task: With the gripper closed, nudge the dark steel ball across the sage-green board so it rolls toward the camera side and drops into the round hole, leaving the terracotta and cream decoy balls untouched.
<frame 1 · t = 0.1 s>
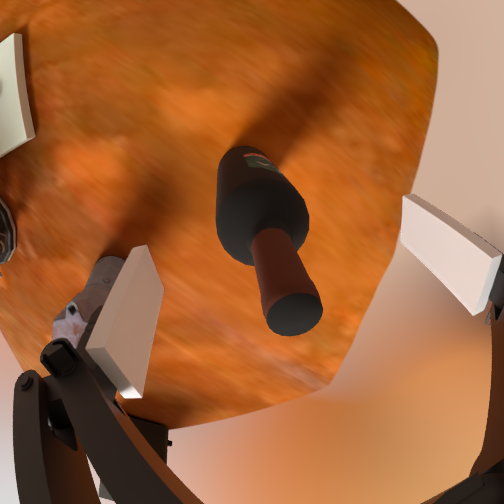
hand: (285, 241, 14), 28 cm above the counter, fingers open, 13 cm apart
wine bottle: (244, 171, 40), on the counter
black rectangular block: (135, 436, 76), on the counter
moka pot: (117, 278, 46), on the counter
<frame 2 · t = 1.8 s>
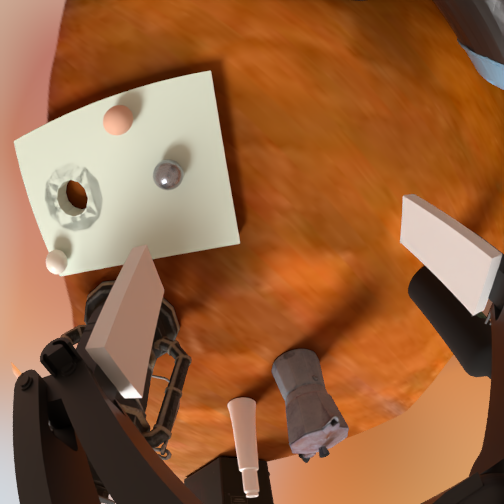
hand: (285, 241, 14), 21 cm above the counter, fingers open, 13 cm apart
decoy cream: (56, 261, 30), point 4 cm above the counter, touching board
wine bottle: (424, 281, 44), on the counter
board: (120, 180, 31), on the counter
black rectangular block: (223, 470, 79), on the counter
moka pot: (295, 364, 50), on the counter
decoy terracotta: (118, 120, 24), point 4 cm above the counter, touching board
cosmetic bottle: (241, 403, 55), on the counter
steel ball: (168, 174, 27), point 4 cm above the counter, touching board
lantern: (131, 318, 41), on the counter
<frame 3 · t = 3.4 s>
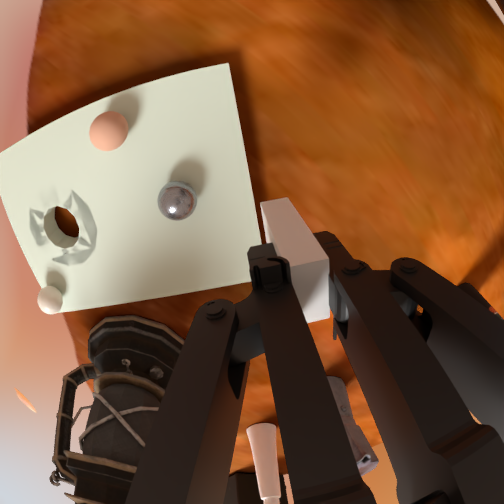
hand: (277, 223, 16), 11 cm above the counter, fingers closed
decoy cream: (50, 300, 25), point 4 cm above the counter, touching board
wine bottle: (456, 300, 38), on the counter
board: (117, 203, 25), on the counter
black rectangular block: (238, 483, 75), on the counter
moka pot: (320, 390, 44), on the counter
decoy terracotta: (108, 131, 18), point 4 cm above the counter, touching board
cosmetic bottle: (261, 427, 50), on the counter
steel ball: (177, 200, 22), point 4 cm above the counter, touching board
lantern: (140, 353, 36), on the counter
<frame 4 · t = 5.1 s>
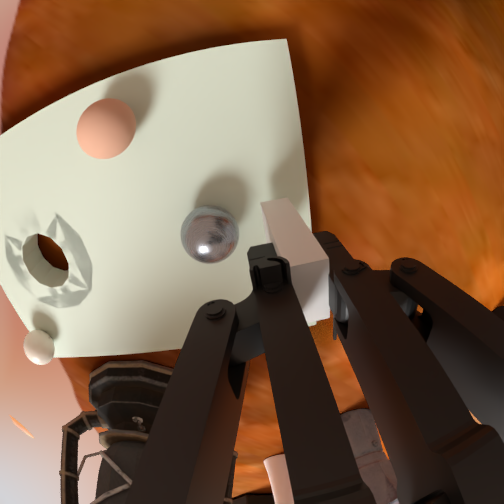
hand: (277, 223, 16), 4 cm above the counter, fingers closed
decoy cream: (39, 347, 19), point 4 cm above the counter, touching board
board: (118, 229, 19), on the counter
black rectangular block: (246, 501, 68), on the counter
moka pot: (346, 422, 38), on the counter
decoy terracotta: (106, 128, 12), point 4 cm above the counter, touching board
cosmetic bottle: (279, 458, 43), on the counter
steel ball: (209, 234, 15), point 4 cm above the counter, touching board
lantern: (150, 397, 29), on the counter
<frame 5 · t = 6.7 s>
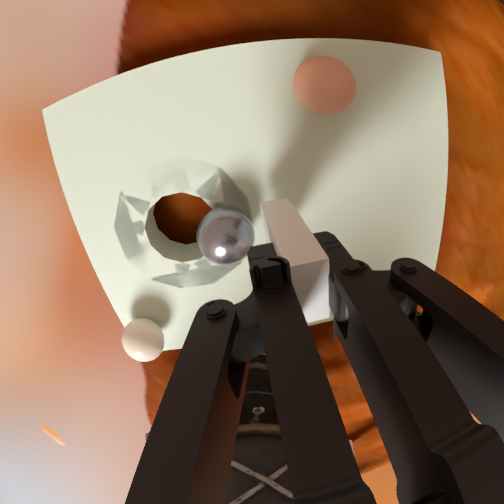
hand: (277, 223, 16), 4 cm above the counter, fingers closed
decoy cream: (143, 340, 19), point 4 cm above the counter, touching board
board: (272, 196, 19), on the counter
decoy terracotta: (324, 84, 12), point 4 cm above the counter, touching board
steel ball: (225, 235, 16), point 4 cm above the counter, tilted 8°, touching board
lantern: (242, 388, 29), on the counter
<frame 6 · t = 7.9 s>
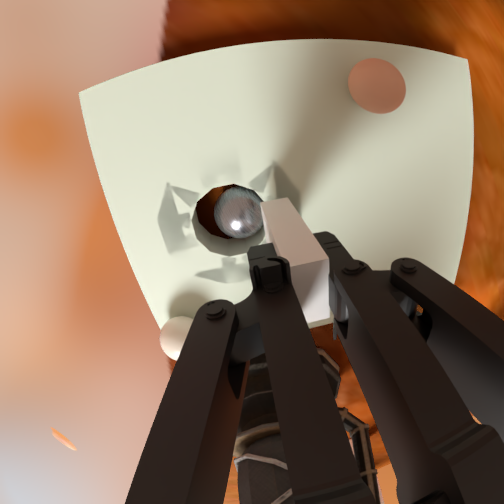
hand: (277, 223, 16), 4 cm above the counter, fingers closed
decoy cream: (182, 338, 19), point 4 cm above the counter, touching board
board: (316, 191, 19), on the counter
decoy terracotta: (377, 85, 12), point 4 cm above the counter, touching board
steel ball: (240, 212, 17), point 2 cm above the counter, tilted 92°
lantern: (269, 386, 29), on the counter
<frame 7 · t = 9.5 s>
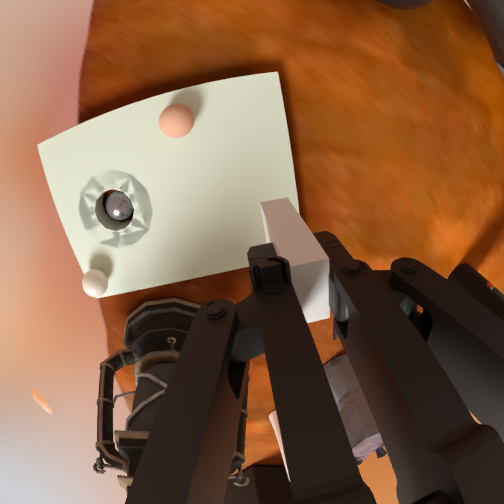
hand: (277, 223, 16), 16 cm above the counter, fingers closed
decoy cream: (95, 283, 29), point 4 cm above the counter, touching board
wine bottle: (457, 280, 43), on the counter
board: (169, 189, 29), on the counter
black rectangular block: (251, 479, 77), on the counter
moka pot: (339, 369, 48), on the counter
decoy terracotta: (176, 120, 23), point 4 cm above the counter, touching board
cosmetic bottle: (282, 412, 53), on the counter
steel ball: (119, 205, 28), point 2 cm above the counter, tilted 96°
lantern: (176, 338, 39), on the counter
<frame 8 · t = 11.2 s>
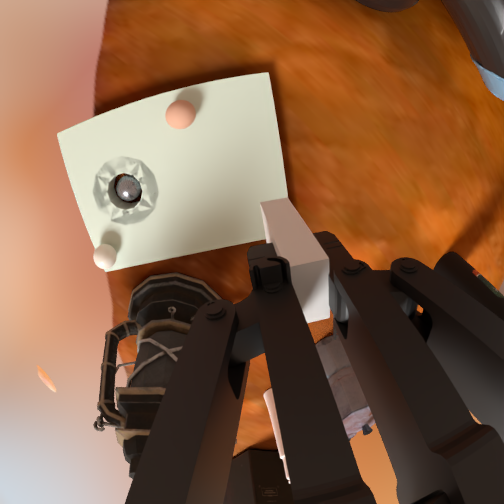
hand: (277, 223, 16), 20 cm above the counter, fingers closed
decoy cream: (105, 256, 33), point 4 cm above the counter, touching board
wine bottle: (445, 268, 46), on the counter
board: (174, 174, 33), on the counter
black rectangular block: (246, 464, 82), on the counter
moka pot: (330, 350, 52), on the counter
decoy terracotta: (180, 114, 26), point 4 cm above the counter, touching board
cosmetic bottle: (276, 392, 57), on the counter
steel ball: (129, 187, 32), point 2 cm above the counter, tilted 101°
lantern: (176, 312, 44), on the counter
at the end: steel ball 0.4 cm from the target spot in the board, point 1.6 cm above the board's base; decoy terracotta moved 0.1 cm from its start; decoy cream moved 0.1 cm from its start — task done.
